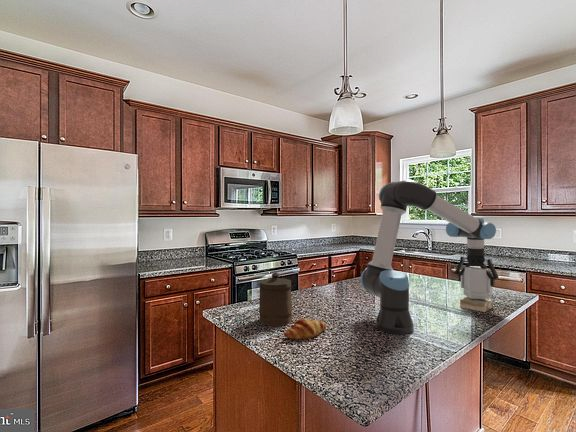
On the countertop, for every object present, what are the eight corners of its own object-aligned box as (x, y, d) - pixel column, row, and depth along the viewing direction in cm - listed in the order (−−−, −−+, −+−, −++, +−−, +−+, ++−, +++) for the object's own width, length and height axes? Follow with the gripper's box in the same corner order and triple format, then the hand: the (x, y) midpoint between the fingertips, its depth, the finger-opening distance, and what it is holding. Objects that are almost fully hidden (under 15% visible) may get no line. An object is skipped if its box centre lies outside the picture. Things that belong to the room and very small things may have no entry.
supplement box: (489, 299, 154) (489, 269, 154) (470, 298, 155) (470, 268, 155) (481, 294, 163) (481, 266, 163) (463, 294, 164) (462, 265, 164)
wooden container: (285, 313, 153) (284, 269, 153) (296, 323, 139) (296, 274, 139) (255, 317, 148) (255, 271, 148) (265, 328, 134) (264, 277, 134)
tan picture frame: (484, 312, 152) (484, 303, 151) (460, 307, 160) (460, 298, 160) (492, 307, 159) (492, 299, 158) (468, 302, 167) (468, 294, 167)
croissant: (321, 335, 135) (316, 316, 138) (336, 330, 128) (330, 310, 131) (281, 346, 123) (276, 325, 126) (294, 341, 116) (288, 320, 119)
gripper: (506, 249, 152) (506, 293, 152) (453, 245, 171) (454, 284, 171) (500, 250, 147) (501, 296, 147) (447, 246, 166) (447, 287, 166)
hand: (475, 290), depth 159 cm, fingers closed on supplement box, 12 cm apart
